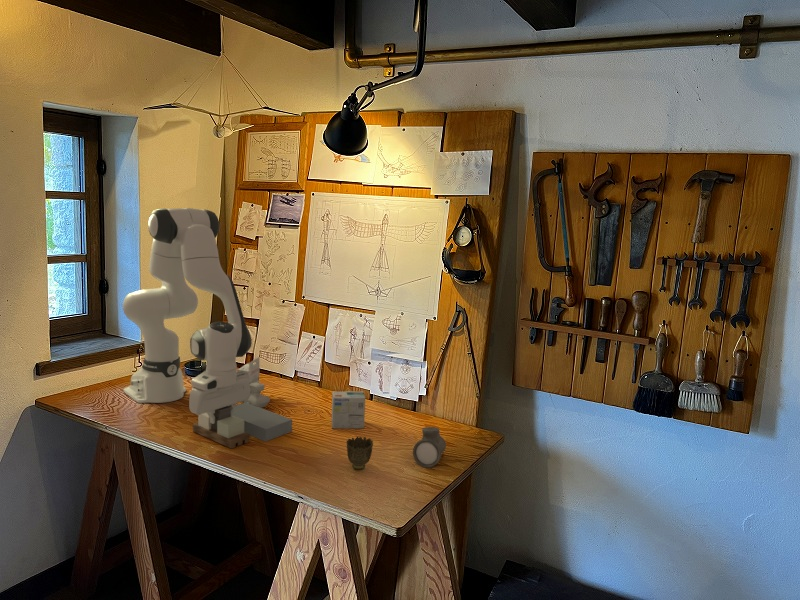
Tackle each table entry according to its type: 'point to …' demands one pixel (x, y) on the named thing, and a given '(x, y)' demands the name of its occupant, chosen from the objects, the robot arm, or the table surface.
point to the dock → (262, 422)
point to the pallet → (213, 435)
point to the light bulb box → (348, 409)
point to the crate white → (204, 421)
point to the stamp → (257, 395)
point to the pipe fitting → (429, 447)
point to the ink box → (251, 371)
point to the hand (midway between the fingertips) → (220, 420)
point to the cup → (359, 452)
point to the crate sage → (230, 426)
